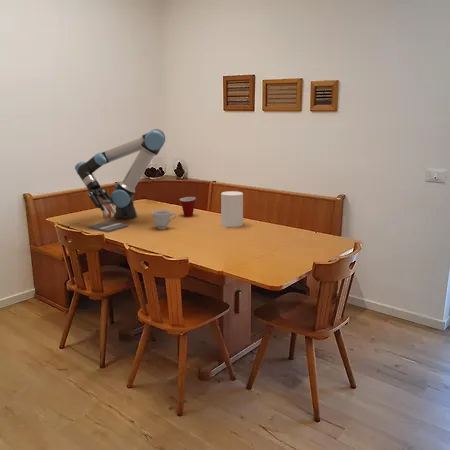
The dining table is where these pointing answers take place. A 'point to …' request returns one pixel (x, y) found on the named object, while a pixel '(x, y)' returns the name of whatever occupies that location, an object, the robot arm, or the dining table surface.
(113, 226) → the board
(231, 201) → the canister
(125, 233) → the dining table surface
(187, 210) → the plastic cup
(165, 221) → the teacup
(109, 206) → the spice shaker
